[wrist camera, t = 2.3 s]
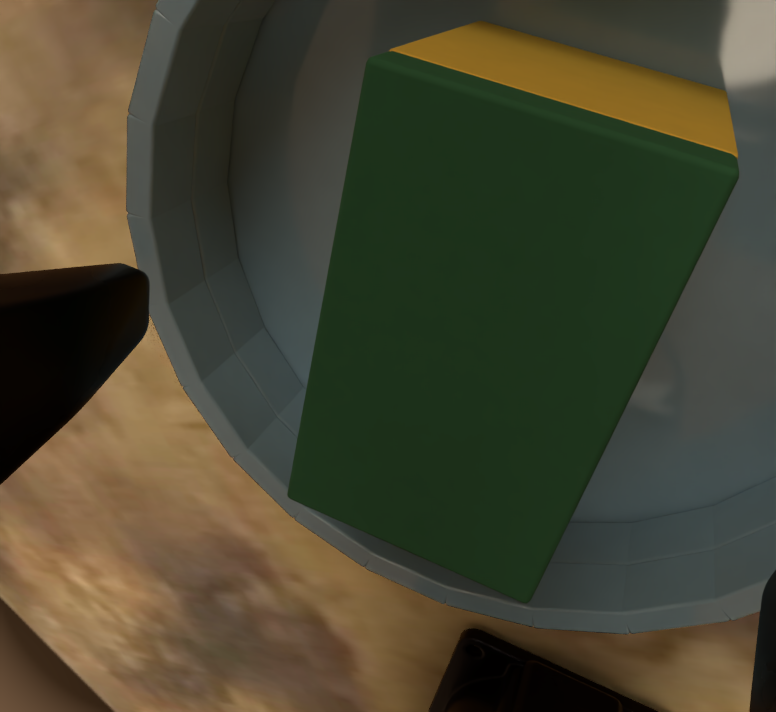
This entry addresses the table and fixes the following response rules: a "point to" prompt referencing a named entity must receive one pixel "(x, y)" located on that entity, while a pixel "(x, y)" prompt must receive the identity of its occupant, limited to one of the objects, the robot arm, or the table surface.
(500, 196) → the sponge
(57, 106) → the table surface
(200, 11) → the bowl
